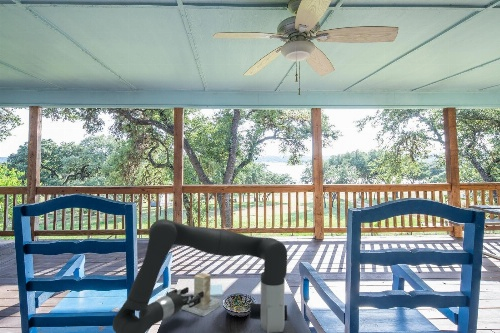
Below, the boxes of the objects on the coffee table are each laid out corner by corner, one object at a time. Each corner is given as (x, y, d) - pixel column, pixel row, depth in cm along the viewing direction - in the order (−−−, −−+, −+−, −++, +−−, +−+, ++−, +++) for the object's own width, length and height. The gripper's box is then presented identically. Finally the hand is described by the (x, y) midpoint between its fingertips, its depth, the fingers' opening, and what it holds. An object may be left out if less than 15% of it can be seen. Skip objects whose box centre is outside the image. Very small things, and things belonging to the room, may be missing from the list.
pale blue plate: (223, 295, 139) (223, 293, 139) (198, 297, 137) (198, 295, 137) (221, 286, 151) (221, 284, 151) (198, 287, 149) (198, 285, 149)
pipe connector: (252, 294, 128) (286, 295, 127) (252, 306, 128) (286, 307, 127) (249, 306, 117) (287, 308, 115) (249, 319, 117) (286, 321, 115)
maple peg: (202, 311, 123) (203, 278, 123) (193, 308, 125) (194, 275, 126) (210, 306, 127) (210, 274, 128) (201, 303, 130) (201, 272, 130)
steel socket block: (203, 316, 118) (203, 310, 118) (182, 309, 124) (182, 303, 124) (221, 305, 128) (221, 299, 128) (200, 299, 134) (200, 293, 135)
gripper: (180, 300, 105) (208, 286, 119) (153, 292, 112) (183, 279, 126) (180, 321, 105) (208, 304, 119) (153, 311, 112) (183, 296, 126)
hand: (195, 291), depth 123 cm, fingers open, 8 cm apart
